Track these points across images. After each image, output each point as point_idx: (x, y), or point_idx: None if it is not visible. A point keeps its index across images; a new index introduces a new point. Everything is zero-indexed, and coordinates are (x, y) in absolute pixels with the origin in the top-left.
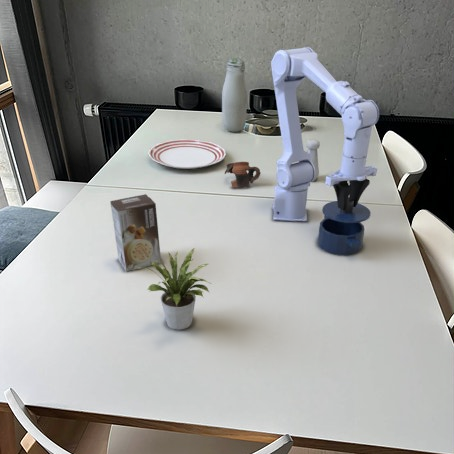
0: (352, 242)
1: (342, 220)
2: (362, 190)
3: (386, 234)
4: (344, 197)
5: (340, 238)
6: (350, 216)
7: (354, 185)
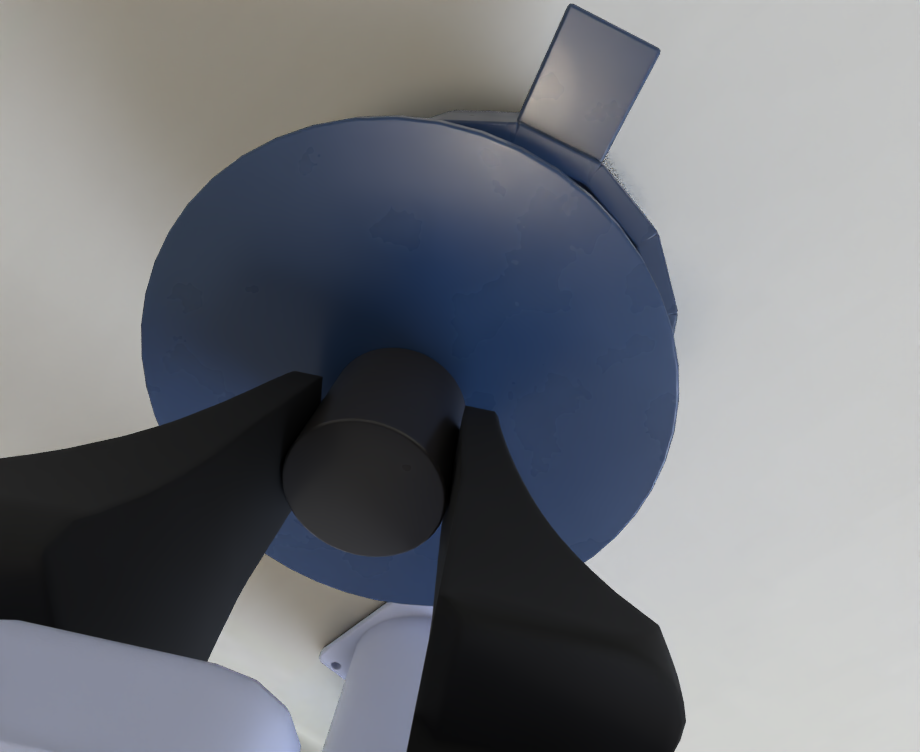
0: (621, 75)
1: (650, 284)
2: (133, 456)
3: (76, 151)
4: (543, 517)
5: (641, 211)
6: (482, 289)
7: (174, 631)
